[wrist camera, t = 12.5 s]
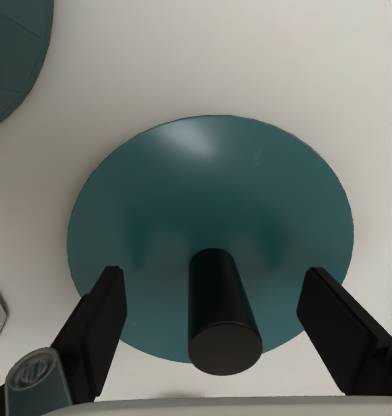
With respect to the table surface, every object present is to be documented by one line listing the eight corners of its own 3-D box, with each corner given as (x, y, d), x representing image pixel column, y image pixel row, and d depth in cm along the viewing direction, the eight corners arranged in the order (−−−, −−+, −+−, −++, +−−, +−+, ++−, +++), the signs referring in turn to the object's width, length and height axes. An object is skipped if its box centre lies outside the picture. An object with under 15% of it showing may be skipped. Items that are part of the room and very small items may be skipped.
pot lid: (20, 176, 11) (-154, 223, 6) (324, 66, 10) (508, -22, 4) (142, 369, 17) (117, 493, 11) (349, 315, 16) (444, 425, 10)
